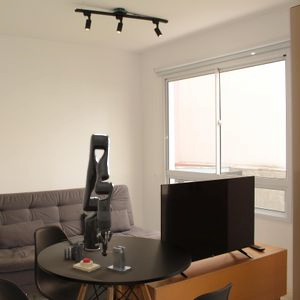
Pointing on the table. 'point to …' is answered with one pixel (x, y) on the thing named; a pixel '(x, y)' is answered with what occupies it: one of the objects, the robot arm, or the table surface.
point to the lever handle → (104, 253)
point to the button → (86, 260)
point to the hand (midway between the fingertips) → (104, 250)
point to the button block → (86, 266)
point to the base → (119, 260)
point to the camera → (74, 251)
